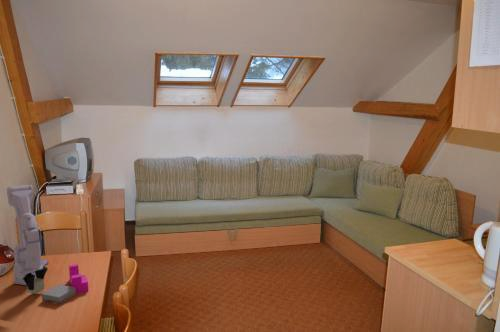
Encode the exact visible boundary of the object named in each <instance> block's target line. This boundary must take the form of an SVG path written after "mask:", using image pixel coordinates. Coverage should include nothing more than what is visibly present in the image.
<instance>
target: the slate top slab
mask: <svg viewBox="0 0 500 332" xmlns="http://www.w3.org/2000/svg"><path fill="white" fill-rule="evenodd" d="M75 292H76V290H75V288H74V287H71V286H68V285H62V284H56V285H55V286H53V287H51V288H49V289H48V290H46V291H45V292H42V293H41V300H42V299H47V300H52V301H57V302H60V301H62V300H64V299H65V298H67V297H69V296H70V295H72V294H73V293H75Z"/></svg>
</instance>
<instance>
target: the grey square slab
mask: <svg viewBox="0 0 500 332" xmlns="http://www.w3.org/2000/svg"><path fill="white" fill-rule="evenodd" d="M76 295H77V294H76V292H75V293H73V294H72V295H70V296H69V297H67V298H65V299H64V300H62V301H60V302H57V301H52V300H47V299H42V298H41V300H42V302H43V303H48V304H53V305H58V306H61V305H63V304H64V303H66V302H67V301H70V300H71V299H72V298H74V297H75V296H76Z"/></svg>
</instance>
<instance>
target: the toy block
mask: <svg viewBox="0 0 500 332" xmlns="http://www.w3.org/2000/svg"><path fill="white" fill-rule="evenodd" d="M68 271H69V272H68V273H69V283H70V287H74V288H75V290H76V295H77V294H81V293H86V292H89V281H88V278H87V277H86V274H82V275H81V273H80V272H79V264H78V263H76V264H71V265H68Z"/></svg>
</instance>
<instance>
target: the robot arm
mask: <svg viewBox="0 0 500 332" xmlns="http://www.w3.org/2000/svg"><path fill="white" fill-rule="evenodd" d="M34 193H35V191H34V187H33V185H32V184H26V185H18V186H17V185H16V186H15V185H14V186H8V187H7V189H6V195H7V201H8V205H9V206H10V207H13V208H14V211H15V215H16V222H17V230H18V237H19V243H17V244H16V245H15V246H14V248H13V257H14V258H13V259H14V263H15V264H14V266H13V279H14V280H13V282H12V283H13V284H16V285H17V284H18V285H22V286H23V285H24V286H26V288H27V287H28V290H34V278H39V279H45V275H46V273H47V272H48V270H49V269H48V267H47V266H48V265H50V263H49V262H50V261H49V260H48V259H44V260H42V251H41V241H42V231H41V229H40V227H39V225H38V223H37V219H36V215H34V214H33V213H32V212H31V211H32V210H31V204H32V202H33V199H34Z"/></svg>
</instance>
